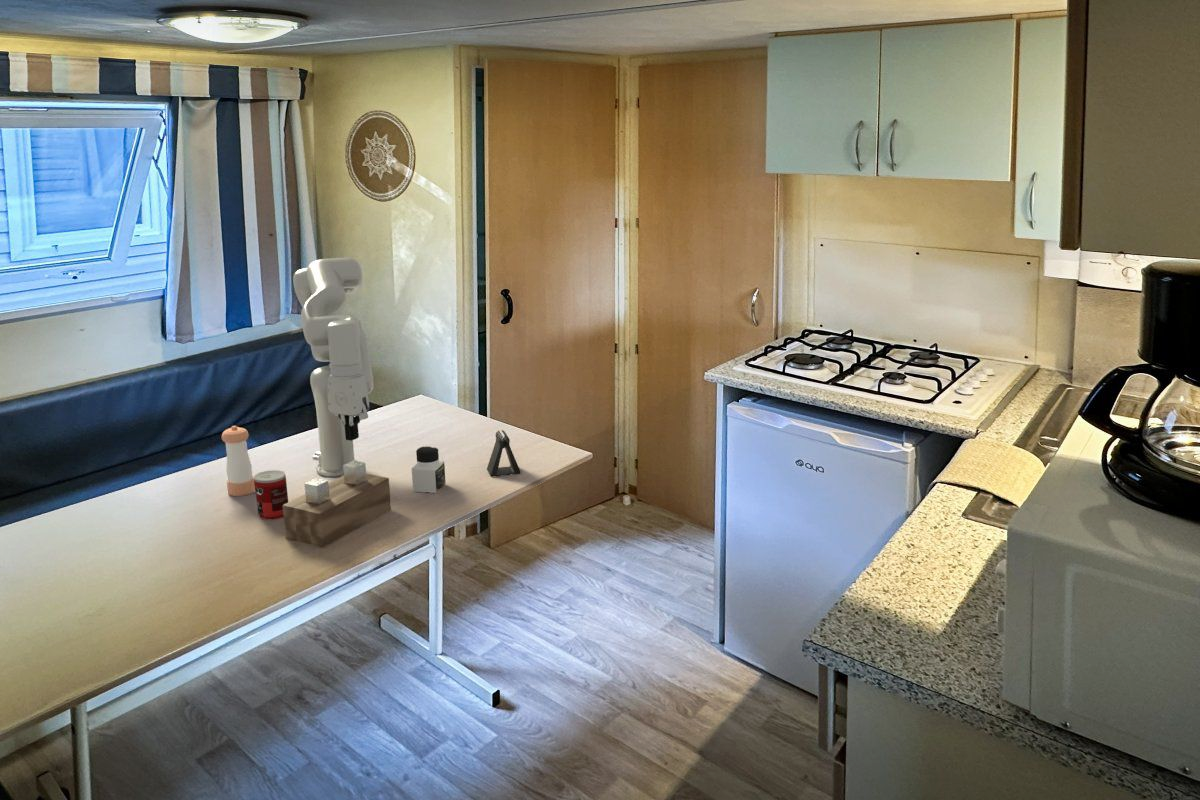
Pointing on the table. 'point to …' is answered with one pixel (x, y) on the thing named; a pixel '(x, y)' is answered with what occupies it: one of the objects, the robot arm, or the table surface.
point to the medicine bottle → (428, 471)
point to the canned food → (270, 493)
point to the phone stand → (496, 457)
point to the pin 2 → (355, 473)
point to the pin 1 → (317, 491)
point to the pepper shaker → (238, 462)
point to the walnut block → (336, 511)
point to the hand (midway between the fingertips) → (352, 438)
